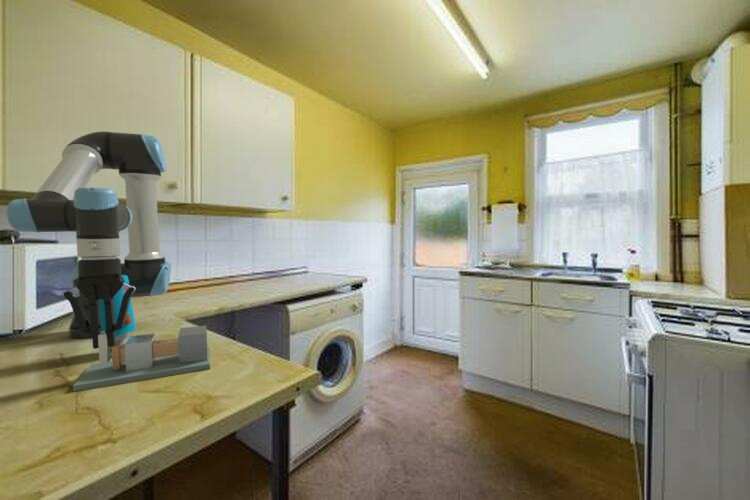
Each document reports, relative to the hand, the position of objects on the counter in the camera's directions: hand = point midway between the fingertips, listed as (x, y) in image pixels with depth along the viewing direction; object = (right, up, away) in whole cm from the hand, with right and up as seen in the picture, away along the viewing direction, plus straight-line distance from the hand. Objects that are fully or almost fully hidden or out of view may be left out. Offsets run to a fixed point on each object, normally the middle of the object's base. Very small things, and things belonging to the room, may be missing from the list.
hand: (105, 361), depth 79 cm
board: (+8, -3, +4) cm, 9 cm away
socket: (+16, -2, +8) cm, 18 cm away
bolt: (+8, -1, +4) cm, 10 cm away
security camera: (-9, -3, +15) cm, 18 cm away
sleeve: (+6, -2, +3) cm, 7 cm away
